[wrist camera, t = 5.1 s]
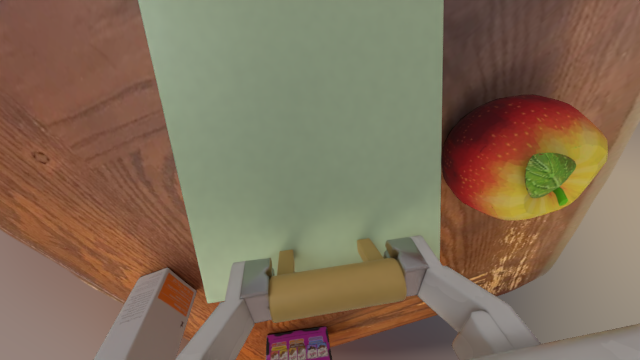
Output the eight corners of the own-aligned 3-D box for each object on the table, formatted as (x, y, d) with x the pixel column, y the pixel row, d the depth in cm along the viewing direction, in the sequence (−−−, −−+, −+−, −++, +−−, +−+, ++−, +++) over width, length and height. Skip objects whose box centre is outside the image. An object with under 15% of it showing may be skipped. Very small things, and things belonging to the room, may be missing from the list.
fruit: (456, 194, 29) (528, 262, 21) (404, 149, 24) (469, 215, 16) (540, 127, 25) (669, 178, 17) (498, 57, 20) (649, 80, 12)
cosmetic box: (198, 289, 32) (162, 408, 22) (170, 299, 32) (123, 420, 22) (168, 265, 28) (109, 393, 19) (137, 276, 29) (63, 408, 19)
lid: (431, 258, 14) (499, 319, 9) (212, 293, 13) (167, 382, 8) (433, -22, 11) (535, -134, 6) (144, -12, 10) (14, -139, 5)
